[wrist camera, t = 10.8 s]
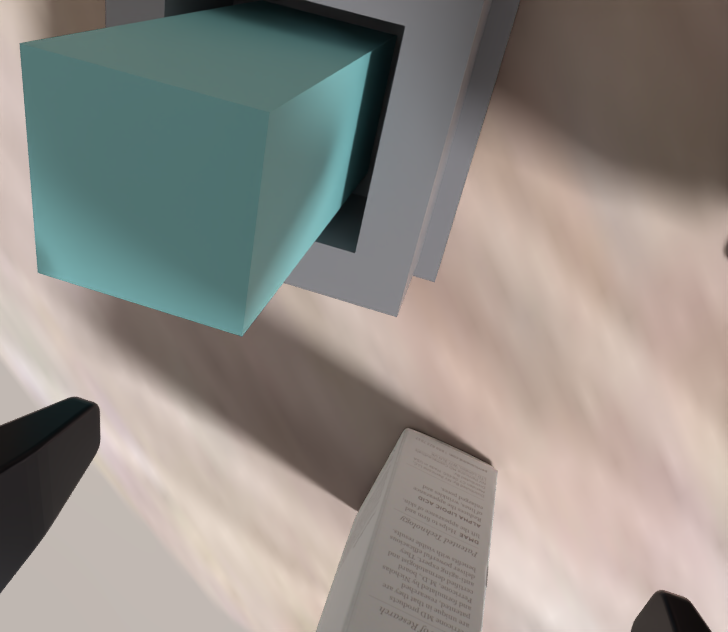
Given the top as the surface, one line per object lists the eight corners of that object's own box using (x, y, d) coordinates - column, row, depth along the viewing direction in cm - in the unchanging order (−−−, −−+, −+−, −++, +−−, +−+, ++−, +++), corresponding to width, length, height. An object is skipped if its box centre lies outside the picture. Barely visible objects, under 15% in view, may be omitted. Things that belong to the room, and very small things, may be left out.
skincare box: (441, 551, 29) (389, 884, 18) (350, 510, 29) (247, 819, 18) (504, 461, 25) (482, 806, 15) (401, 415, 25) (309, 727, 15)
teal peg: (397, 35, 18) (269, 112, 9) (367, 171, 20) (242, 336, 11) (261, 0, 18) (20, 43, 10) (247, 138, 20) (38, 272, 12)
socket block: (539, -62, 17) (540, -66, 12) (438, 269, 22) (415, 345, 18) (184, -148, 18) (73, -179, 13) (169, 189, 23) (86, 244, 19)
